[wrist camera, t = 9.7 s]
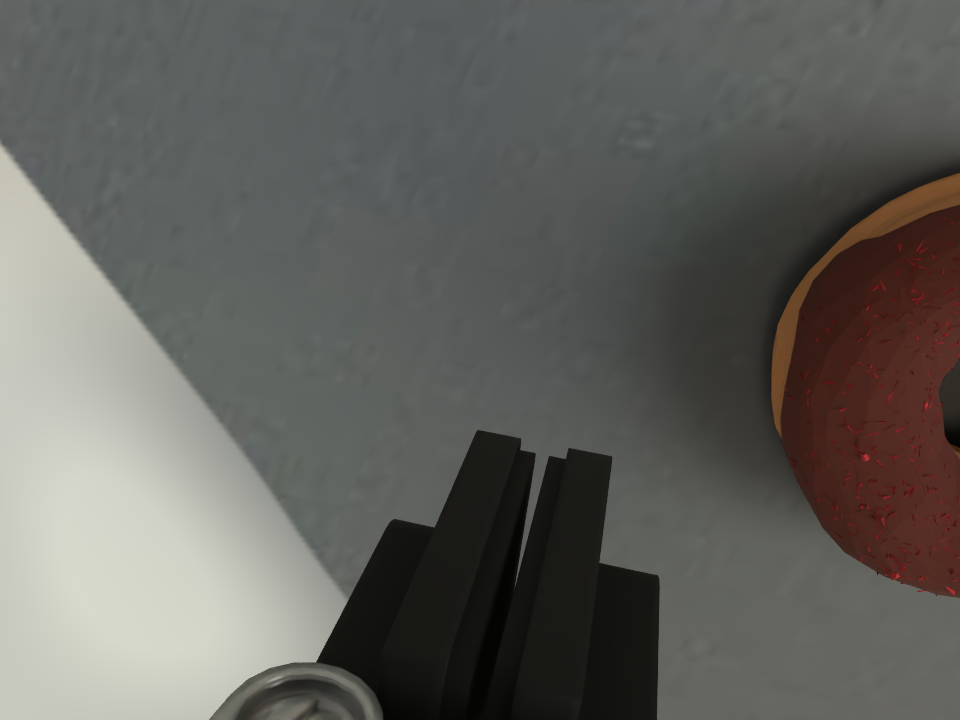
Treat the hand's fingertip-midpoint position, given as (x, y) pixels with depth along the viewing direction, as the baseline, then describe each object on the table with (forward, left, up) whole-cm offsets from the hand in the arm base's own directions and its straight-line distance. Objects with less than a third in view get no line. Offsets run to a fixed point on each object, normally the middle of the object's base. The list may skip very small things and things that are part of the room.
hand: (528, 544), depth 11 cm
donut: (+9, +1, -13) cm, 16 cm away
